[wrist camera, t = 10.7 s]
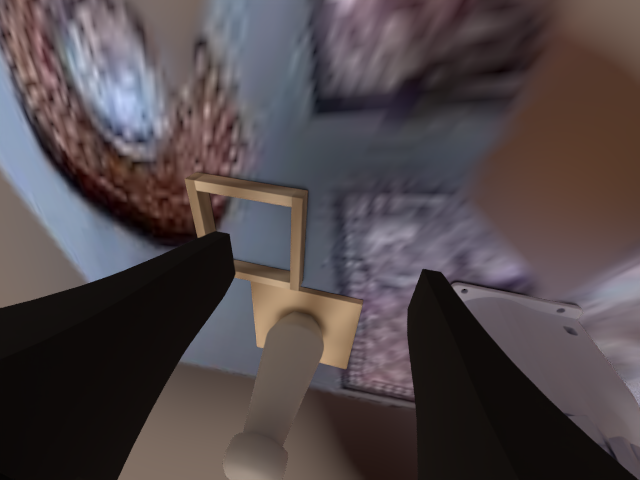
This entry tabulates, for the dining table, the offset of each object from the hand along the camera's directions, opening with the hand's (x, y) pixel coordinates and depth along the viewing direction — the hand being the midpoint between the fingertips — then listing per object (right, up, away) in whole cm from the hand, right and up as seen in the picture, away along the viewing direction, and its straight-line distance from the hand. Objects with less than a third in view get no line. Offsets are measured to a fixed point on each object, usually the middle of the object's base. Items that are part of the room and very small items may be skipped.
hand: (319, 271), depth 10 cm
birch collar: (-6, +2, +13) cm, 14 cm away
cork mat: (-2, -8, +18) cm, 20 cm away
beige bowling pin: (-2, -8, +18) cm, 20 cm away
